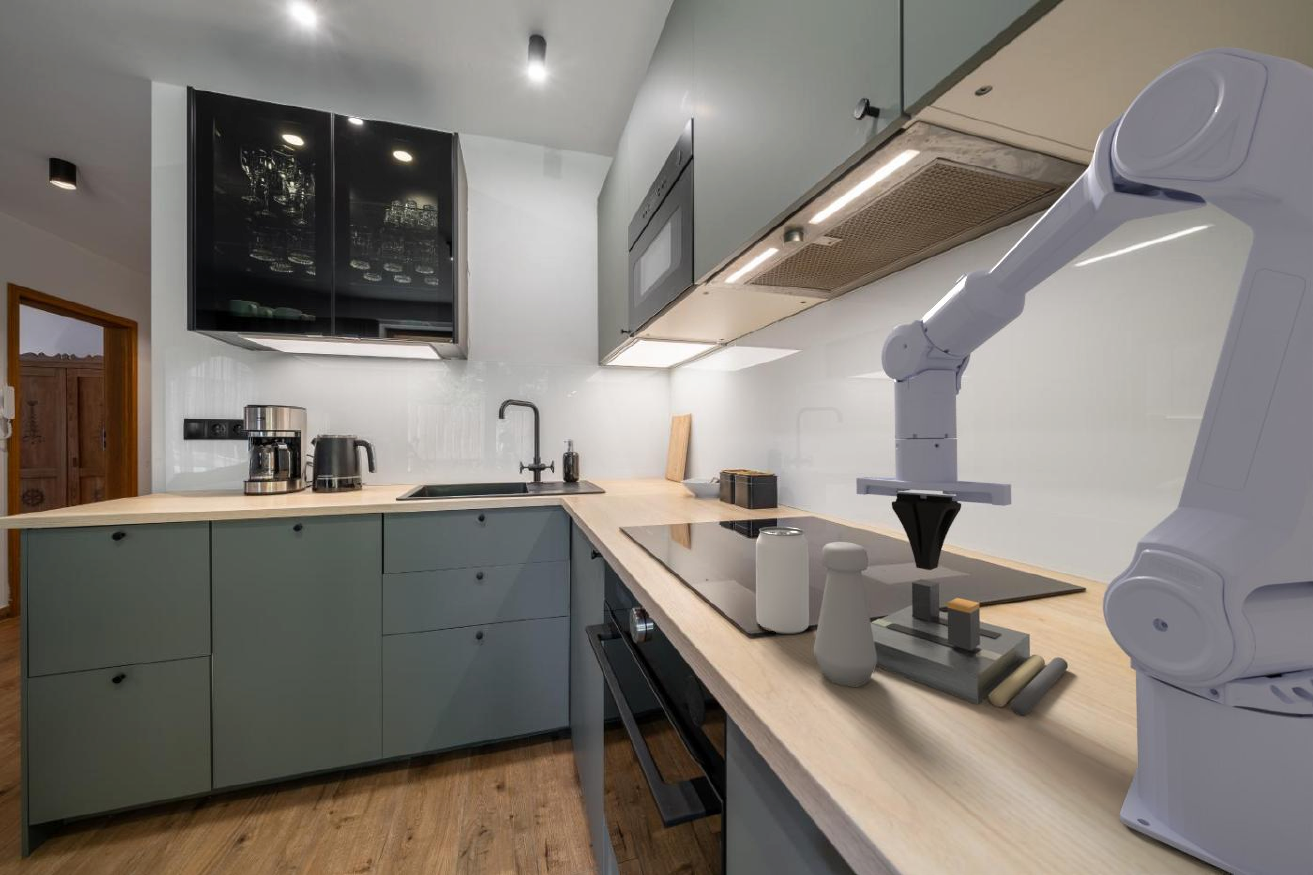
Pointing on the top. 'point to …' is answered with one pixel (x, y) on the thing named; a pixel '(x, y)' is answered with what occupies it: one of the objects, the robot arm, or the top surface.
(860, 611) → the salt shaker
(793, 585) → the can
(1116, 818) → the top surface
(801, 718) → the top surface
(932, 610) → the dual slot slider
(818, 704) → the top surface
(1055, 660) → the pair of rollers
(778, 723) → the top surface
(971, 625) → the toggle
